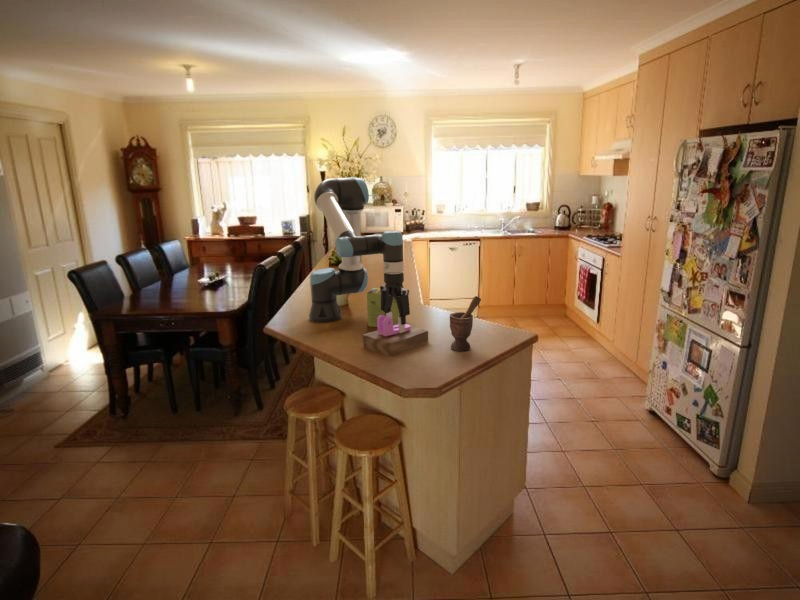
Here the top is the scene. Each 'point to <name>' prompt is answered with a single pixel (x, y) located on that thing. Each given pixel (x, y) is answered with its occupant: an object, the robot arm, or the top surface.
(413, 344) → the walnut block
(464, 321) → the mortar and pestle
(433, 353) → the top surface
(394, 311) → the protein box
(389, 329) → the bracket
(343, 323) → the top surface
